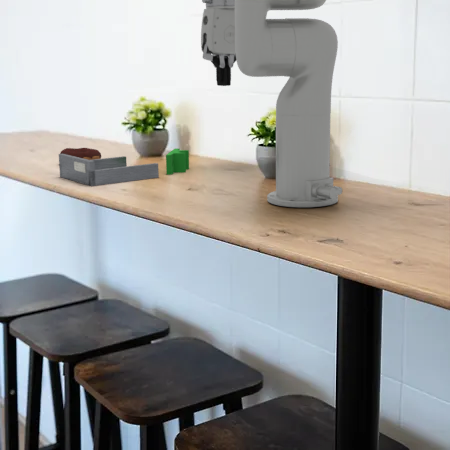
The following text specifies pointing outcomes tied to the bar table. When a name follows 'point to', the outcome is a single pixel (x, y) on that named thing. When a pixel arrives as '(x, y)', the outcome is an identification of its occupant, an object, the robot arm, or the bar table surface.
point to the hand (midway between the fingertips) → (223, 85)
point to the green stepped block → (177, 161)
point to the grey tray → (104, 170)
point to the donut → (82, 153)
